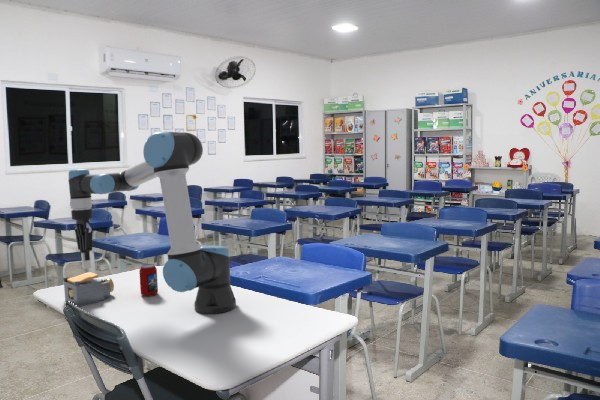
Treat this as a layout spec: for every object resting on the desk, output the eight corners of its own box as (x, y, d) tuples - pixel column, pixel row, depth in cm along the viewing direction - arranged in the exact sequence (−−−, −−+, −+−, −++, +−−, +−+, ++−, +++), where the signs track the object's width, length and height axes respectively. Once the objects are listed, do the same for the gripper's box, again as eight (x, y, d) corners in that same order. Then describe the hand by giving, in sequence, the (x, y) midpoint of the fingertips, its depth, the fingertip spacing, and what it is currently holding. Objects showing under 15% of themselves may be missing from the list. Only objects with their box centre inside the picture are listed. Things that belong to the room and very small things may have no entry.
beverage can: (155, 296, 195) (153, 267, 194) (138, 297, 195) (136, 267, 194) (160, 292, 202) (158, 263, 201) (144, 292, 202) (142, 264, 201)
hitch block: (113, 298, 195) (111, 274, 194) (77, 307, 184) (75, 282, 183) (99, 292, 203) (98, 270, 202) (64, 301, 193) (62, 277, 192)
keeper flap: (98, 276, 192) (97, 274, 192) (75, 284, 186) (75, 282, 185) (89, 273, 197) (89, 271, 197) (67, 281, 191) (66, 279, 191)
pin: (107, 290, 202) (107, 277, 202) (114, 292, 198) (113, 279, 198) (68, 299, 191) (67, 285, 190) (74, 302, 187) (73, 288, 186)
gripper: (98, 208, 188) (103, 268, 190) (84, 207, 197) (89, 264, 199) (78, 210, 183) (84, 272, 185) (65, 209, 192) (70, 267, 194)
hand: (86, 268), depth 192 cm, fingers closed
